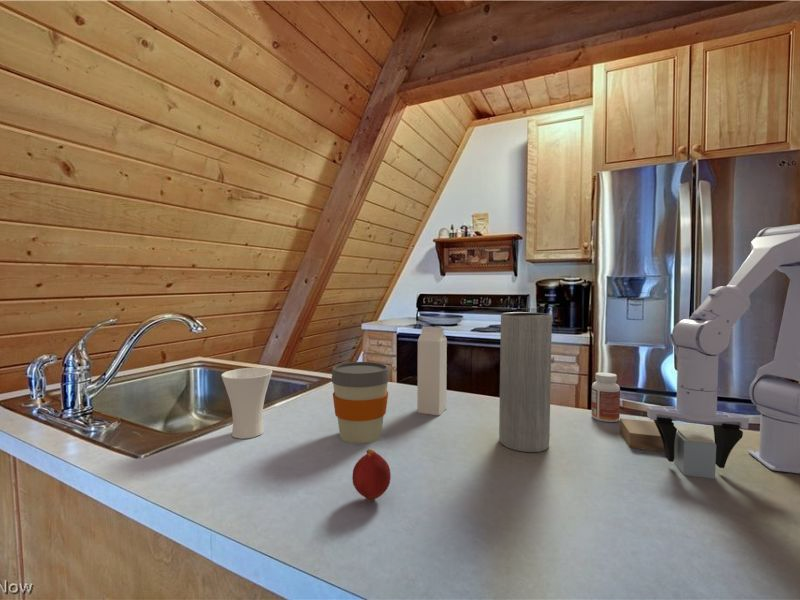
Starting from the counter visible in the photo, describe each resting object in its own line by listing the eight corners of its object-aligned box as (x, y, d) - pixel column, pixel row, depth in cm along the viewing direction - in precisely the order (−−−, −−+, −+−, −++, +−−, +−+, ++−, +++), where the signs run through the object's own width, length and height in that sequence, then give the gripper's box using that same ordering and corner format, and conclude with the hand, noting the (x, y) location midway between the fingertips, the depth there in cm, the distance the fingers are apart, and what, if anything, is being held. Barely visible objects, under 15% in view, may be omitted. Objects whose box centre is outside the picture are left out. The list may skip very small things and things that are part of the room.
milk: (425, 406, 106) (425, 325, 105) (446, 409, 103) (447, 326, 103) (416, 412, 100) (417, 327, 100) (439, 416, 98) (440, 328, 97)
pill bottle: (624, 419, 96) (625, 375, 95) (611, 424, 92) (612, 378, 92) (599, 412, 101) (600, 370, 100) (586, 417, 97) (587, 373, 97)
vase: (531, 457, 75) (534, 316, 73) (489, 441, 82) (491, 313, 81) (558, 444, 81) (561, 314, 80) (516, 430, 89) (518, 311, 88)
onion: (371, 486, 64) (371, 438, 64) (398, 498, 60) (398, 447, 60) (344, 501, 60) (344, 449, 59) (372, 515, 56) (372, 460, 56)
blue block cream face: (703, 466, 71) (704, 431, 71) (715, 478, 67) (716, 441, 67) (674, 463, 73) (675, 428, 72) (683, 474, 68) (684, 438, 68)
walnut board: (665, 436, 85) (666, 422, 85) (681, 453, 77) (681, 438, 77) (619, 431, 88) (619, 418, 88) (629, 447, 80) (629, 432, 79)
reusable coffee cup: (321, 443, 81) (321, 371, 80) (344, 422, 93) (344, 360, 92) (379, 449, 78) (380, 375, 77) (395, 427, 90) (395, 363, 89)
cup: (274, 438, 83) (273, 376, 83) (220, 446, 79) (219, 380, 79) (271, 422, 93) (270, 366, 93) (223, 428, 89) (222, 369, 89)
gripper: (735, 385, 71) (732, 458, 71) (643, 378, 75) (641, 448, 76) (756, 395, 64) (753, 476, 65) (654, 388, 68) (652, 463, 69)
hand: (693, 462), depth 70 cm, fingers open, 7 cm apart
